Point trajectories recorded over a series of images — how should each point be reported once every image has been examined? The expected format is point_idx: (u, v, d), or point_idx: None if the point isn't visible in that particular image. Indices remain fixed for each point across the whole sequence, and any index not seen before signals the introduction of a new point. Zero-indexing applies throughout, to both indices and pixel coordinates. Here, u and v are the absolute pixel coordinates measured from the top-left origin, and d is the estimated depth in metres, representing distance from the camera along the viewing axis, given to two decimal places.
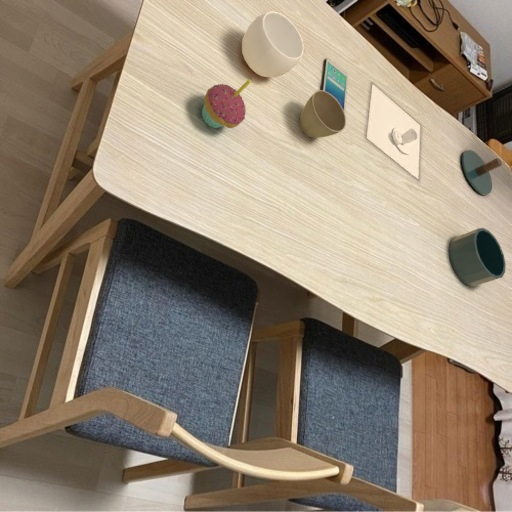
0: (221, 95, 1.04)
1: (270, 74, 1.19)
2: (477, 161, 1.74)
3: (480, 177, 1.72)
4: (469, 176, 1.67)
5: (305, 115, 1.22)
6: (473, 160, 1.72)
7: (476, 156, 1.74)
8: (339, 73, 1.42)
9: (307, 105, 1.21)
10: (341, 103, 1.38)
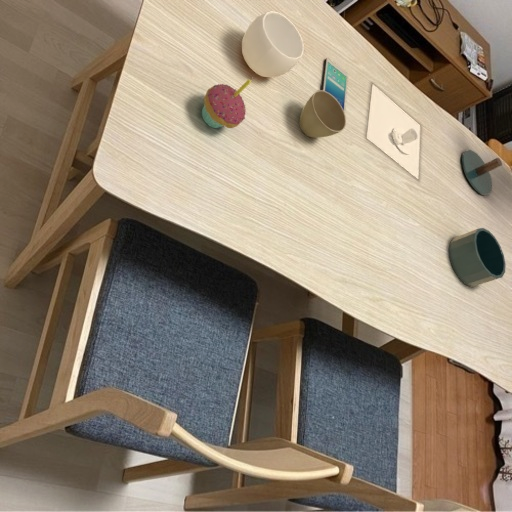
0: (221, 95, 1.04)
1: (270, 74, 1.19)
2: (477, 161, 1.74)
3: (480, 177, 1.72)
4: (469, 176, 1.67)
5: (305, 115, 1.22)
6: (473, 160, 1.72)
7: (476, 156, 1.74)
8: (339, 73, 1.42)
9: (307, 105, 1.21)
10: (341, 103, 1.38)
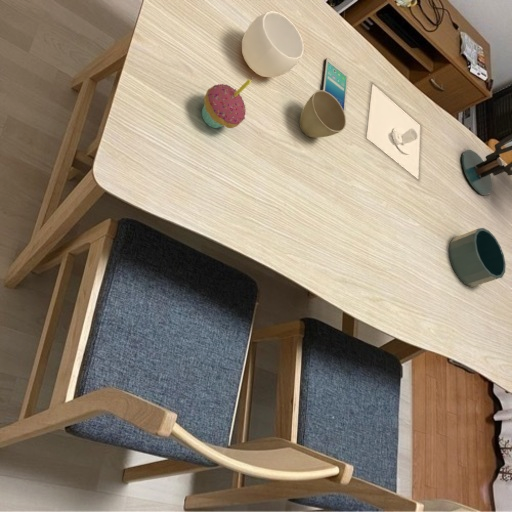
0: (221, 95, 1.04)
1: (270, 74, 1.19)
2: (477, 161, 1.74)
3: (480, 177, 1.72)
4: (469, 176, 1.67)
5: (305, 115, 1.22)
6: (473, 160, 1.72)
7: (476, 156, 1.74)
8: (339, 73, 1.42)
9: (307, 105, 1.21)
10: (341, 103, 1.38)
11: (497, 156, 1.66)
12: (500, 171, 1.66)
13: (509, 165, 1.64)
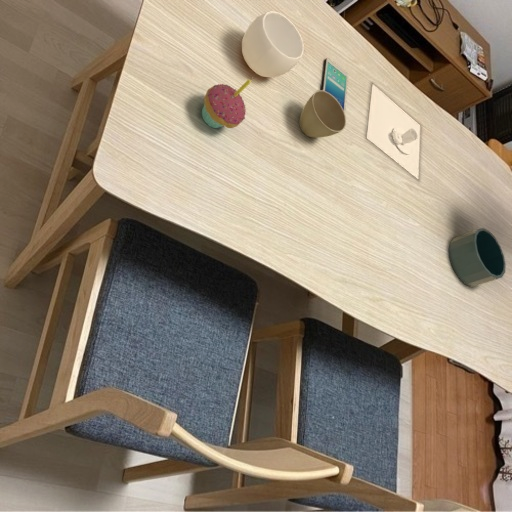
0: (221, 95, 1.04)
1: (270, 74, 1.19)
2: None
3: None
4: None
5: (305, 115, 1.22)
6: None
7: None
8: (339, 73, 1.42)
9: (307, 105, 1.21)
10: (341, 103, 1.38)
11: None
12: None
13: None
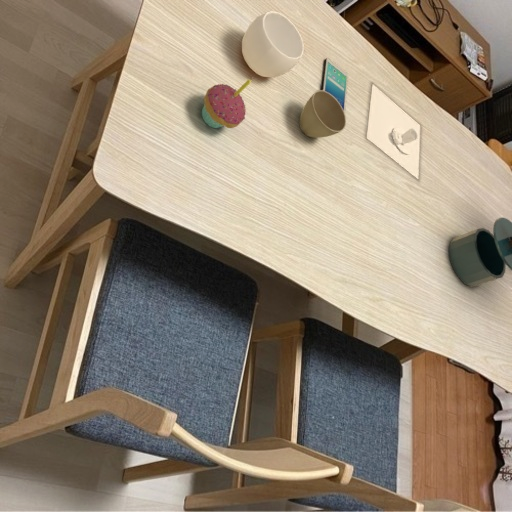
0: (221, 95, 1.04)
1: (270, 74, 1.19)
2: (510, 231, 1.44)
3: None
4: (502, 252, 1.37)
5: (305, 115, 1.22)
6: (506, 230, 1.42)
7: (509, 224, 1.45)
8: (339, 73, 1.42)
9: (307, 105, 1.21)
10: (341, 103, 1.38)
11: None
12: None
13: None
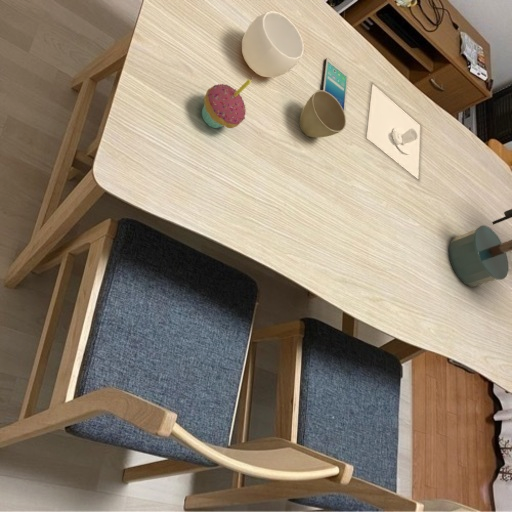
0: (221, 95, 1.04)
1: (270, 74, 1.19)
2: (491, 238, 1.48)
3: (495, 258, 1.46)
4: (482, 259, 1.41)
5: (305, 115, 1.22)
6: (486, 238, 1.46)
7: (490, 232, 1.48)
8: (339, 73, 1.42)
9: (307, 105, 1.21)
10: (341, 103, 1.38)
11: None
12: None
13: None
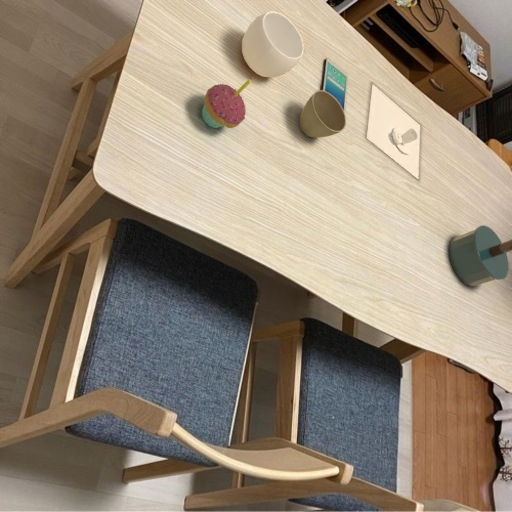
0: (221, 95, 1.04)
1: (270, 74, 1.19)
2: (491, 238, 1.48)
3: (495, 258, 1.46)
4: (482, 259, 1.41)
5: (305, 115, 1.22)
6: (486, 238, 1.46)
7: (490, 232, 1.48)
8: (339, 73, 1.42)
9: (307, 105, 1.21)
10: (341, 103, 1.38)
11: None
12: None
13: None
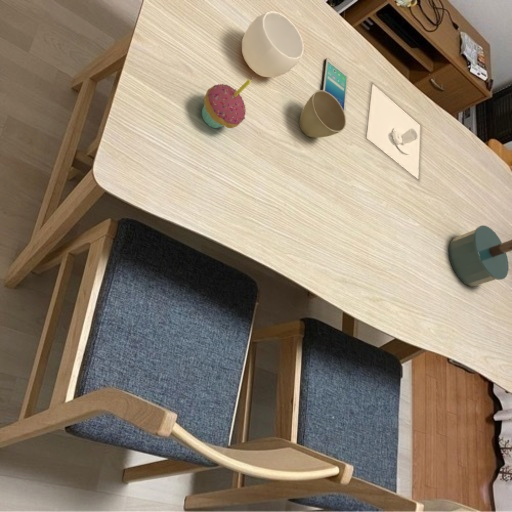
0: (221, 95, 1.04)
1: (270, 74, 1.19)
2: (491, 238, 1.48)
3: (495, 258, 1.46)
4: (482, 259, 1.41)
5: (305, 115, 1.22)
6: (486, 238, 1.46)
7: (490, 232, 1.48)
8: (339, 73, 1.42)
9: (307, 105, 1.21)
10: (341, 103, 1.38)
11: None
12: None
13: None
